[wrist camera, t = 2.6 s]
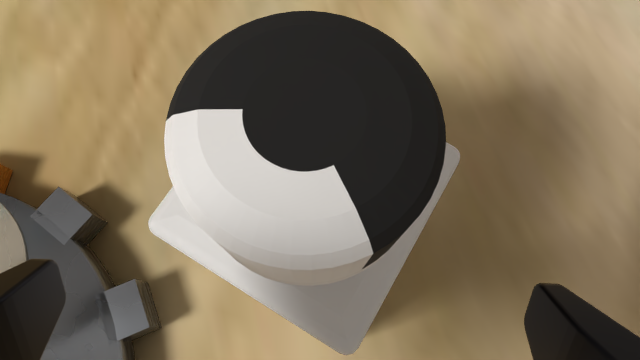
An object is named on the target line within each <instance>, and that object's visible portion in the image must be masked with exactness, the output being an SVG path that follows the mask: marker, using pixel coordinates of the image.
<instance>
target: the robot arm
mask: <svg viewBox="0 0 640 360" xmlns="http://www.w3.org/2000/svg"><path fill="white" fill-rule="evenodd" d="M65 302H66V292H65V288H64V284H63V281H62V277H61V273H60V270H59V266H58V264H57V263H56V261H54V260H52V259H29V260H27V261H25V262H23V263H21V264H19V265H17V266H15V267H13V268H11V269H8V270H6V271H4V272H2V273H0V360H40V359H41V357H42V355H43V352H44V350H45V348H46V346H47V344H48V341H49V339H50V337H51V335H52V332H53V330H54V328H55V326H56V324H57V321H58V319H59V317H60V315H61V312H62V310H63V308H64V305H65ZM524 325H525V331H526V334H527V338H528V342H529V345H530V349H531V353H532V356H533V360H640V338H639V337H638V336H636V335H635V334H633V333H632V332H631V331H629V330H628V329H626V328H625V327H623V326H622V325H620V324H619V323H617V322H616V321H614V320H613V319H611V318H610V317H608V316H607V315H605V314H604V313H602V312H601V311H599V310H598V309H596V308H595V307H593V306H592V305H590V304H589V303H587V302H586V301H584V300H583V299H581V298H580V297H578V296H577V295H576V294H574V293H573V292H571V291H570V290H568V289H567V288H565V287H564V286H562V285H560V284H550V283H539V284H537V285H536V286H535V287H534V289H533V292H532V295H531V298H530V301H529V304H528V307H527V310H526V313H525V318H524Z"/></svg>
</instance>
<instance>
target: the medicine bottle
mask: <svg viewBox="0 0 640 360" xmlns="http://www.w3.org/2000/svg"><path fill="white" fill-rule="evenodd" d="M164 144H165V158H166V163H167V168H168V172H169V176H170V179H171V181H172V184H173V187H172V188H171V190H170V191H169V192H168V194H167V195H166V196H165V198H164V199H163V200H162V202H161V203H160V205H159V206H158V207H157V209H156V210H155V211H154V213H153V214H152V215H151V217H150V219H149V221H148V224H149V229H150V231H151V232H152V233H153V234H154V235H156V236H157V237H159V238H160V239H162V240H163V241H165V242H166V243H168V244H170V245H171V246H173V247H174V248H176V249H177V250H179V251H181V252H182V253H184V254H185V255H187V256H188V257H190V258H191V259H193V260H195V261H196V262H198V263H199V264H201V265H202V266H204V267H206V268H207V269H209V270H210V271H212V272H213V273H215V274H217V275H218V276H220V277H221V278H223V279H224V280H226V281H227V282H229V283H231V284H232V285H234V286H235V287H237V288H238V289H240V290H242V291H243V292H245V293H246V294H248V295H249V296H251V297H252V298H254V299H256V300H257V301H259V302H260V303H262V304H263V305H265V306H267V307H268V308H270V309H271V310H273V311H274V312H276V313H277V314H279V315H281V316H282V317H284V318H285V319H287V320H288V321H290V322H292V323H293V324H295V325H296V326H298V327H299V328H301V329H303V330H304V331H306V332H307V333H309V334H310V335H312V336H313V337H315V338H317V339H318V340H320V341H321V342H323V343H324V344H326V345H328V346H329V347H331V348H332V349H334V350H335V351H337V352H338V353H341V354H344V355H349V354H353V353H354V352H355V351H356V350H357V349H358V347H359V346H360V344H361V342H362V340H363V338H364V336H365V335H366V333H367V331H368V329H369V327H370V325H371V324H372V322H373V320H374V318H375V316H376V314H377V313H378V311H379V309H380V307H381V305H382V303H383V302H384V300H385V298H386V296H387V294H388V292H389V290H390V289H391V287H392V285H393V283H394V281H395V279H396V278H397V276H398V274H399V272H400V270H401V268H402V267H403V265H404V263H405V261H406V259H407V257H408V256H409V254H410V252H411V250H412V248H413V246H414V245H415V243H416V241H417V239H418V237H419V235H420V233H421V232H422V230H423V228H424V226H425V224H426V222H427V221H428V219H429V217H430V215H431V213H432V211H433V210H434V208H435V206H436V204H437V202H438V200H439V199H440V197H441V195H442V193H443V191H444V189H445V188H446V186H447V184H448V182H449V180H450V178H451V177H452V175H453V173H454V171H455V169H456V167H457V165H458V164H459V160H460V153H459V150H458V149H457V148H455V147H454V146H452V145H450V144H449V143H447V142H446V132H445V123H444V117H443V112H442V108H441V105H440V102H439V99H438V96H437V93H436V91H435V89H434V87H433V85H432V83H431V81H430V79H429V77H428V76H427V75H426V73H425V72H424V70H423V69H422V67H421V66H420V65H419V63H418V62H417V61H416V60H415V59H414V58H413V57H412V56H411V55H410V53H409V52H408V51H407V50H406V49H405V48H403V47H402V46H401V45H400V44H398V43H397V42H396V41H395V40H394V39H392V38H391V37H389V36H388V35H386V34H384V33H383V32H381V31H380V30H378V29H376V28H374V27H372V26H370V25H368V24H365V23H363V22H361V21H358V20H355V19H352V18H349V17H346V16H342V15H337V14H332V13H327V12H316V11H292V12H286V13H279V14H274V15H270V16H266V17H263V18H259V19H256V20H254V21H251V22H249V23H246V24H244V25H241V26H239V27H237V28H236V29H234V30H232V31H230V32H229V33H227V34H225V35H224V36H222V37H221V38H219V39H218V40H217V41H215V42H214V43H213V44H211V45H210V46H209V47H208V48H207V49H206V50H205V51H204V52H203V53H202V54H201V55H200V56H199V57H198V58H197V59H196V60H195V61H194V63H193V64H192V65H191V66H190V68H189V69H188V70H187V71H186V73H185V75H184V76H183V78H182V80H181V81H180V83H179V85H178V86H177V89H176V91H175V93H174V96H173V98H172V101H171V103H170V107H169V111H168V115H167V119H166V126H165V136H164Z"/></svg>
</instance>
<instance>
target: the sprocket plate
mask: <svg viewBox="0 0 640 360" xmlns="http://www.w3.org/2000/svg"><path fill="white" fill-rule="evenodd" d="M11 174H12V170H11V169H9V168H7V167H5V166H3V165H1V164H0V273H2V272H4V271H6V270H8V269H11V268H13V267H15V266H17V265H19V264H21V263H23V262H25V261H27V260H29V259H52V260H54V261H56V263H57V264H58V266H59V270H60V273H61V277H62V281H63V284H64V288H65V292H66V302H65V305H64V308H63V310H62V312H61V315H60V317H59V319H58V321H57V324H56V326H55V328H54V330H53V332H52V335H51V337H50V339H49V341H48V344H47V346H46V348H45V350H44V352H43V355H42V357H41V359H40V360H134V349H133V344H132V340H134V339H136V338H139V337H141V336H143V335H146V334H148V333H150V332H153V331H155V330H157V329H160V328H162V327H161V324H160V321H159V317H158V314H157V311H156V308H155V305H154V301H153V298H152V295H151V292H150V288H149V285H148V283H147V282H144V281H141V280H137V279H133V280H131V281H128V282H126V283H123V284H121V285H118V286H116V287H115V286H114V283H113V281H112V279H111V277H110V275H109V273H108V272H107V271H106V269H105V268H104V266H103V265H102V263H101V262H100V260H99V259H98V258H97V256H96V255H95V253H94V252H93V251H92V250H91V249H90V248H89V247H88V246H87V245H88V244H89V243H90V242H91V240H92V239H93V238H94V237H95V236H96V235H97V234H98V233H99V232H100V231H101V229H102V228H103V227H104V226H105V225H106V224H107V223H108V222H106V221H105V220H104V219H103V218H102V217H100V216H99V215H98V214H97V213H95V212H94V211H93V210H92V209H91V208H89V207H88V206H87V205H86V204H84V203H83V202H82V201H81V200H79V199H78V198H77V197H76V196H74V195H72V194H70V193H69V192H67V191H65V190H63V189H62V188H60V187H58V188H57V189H56V190H55V191H54V192H53V193H52V194H51V195H50V196H49V197H48V198H47V199H46V200H45V201H44V202H43V203H42V204H41V206H40V207H39V208H36V207H33V206H31V205H29V204H27V203H24V202H22V201H20V200H18V199H15V198H13V197H10V196H7V195H5V192H6V189H7V186H8V183H9V180H10V177H11Z"/></svg>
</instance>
